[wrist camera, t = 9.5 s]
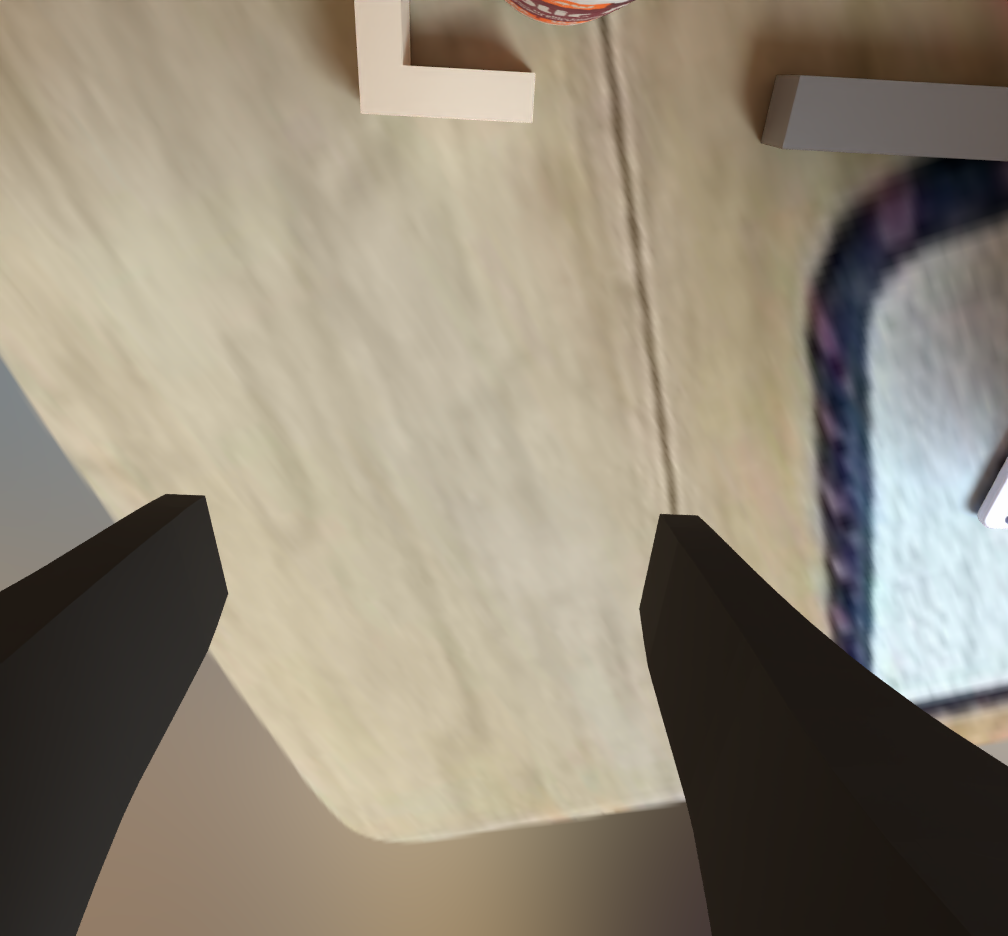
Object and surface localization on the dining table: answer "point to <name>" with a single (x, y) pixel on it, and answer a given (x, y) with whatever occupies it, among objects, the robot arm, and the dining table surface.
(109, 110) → the dining table surface
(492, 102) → the bracket
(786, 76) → the gray u-shaped bracket
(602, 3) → the pill bottle
